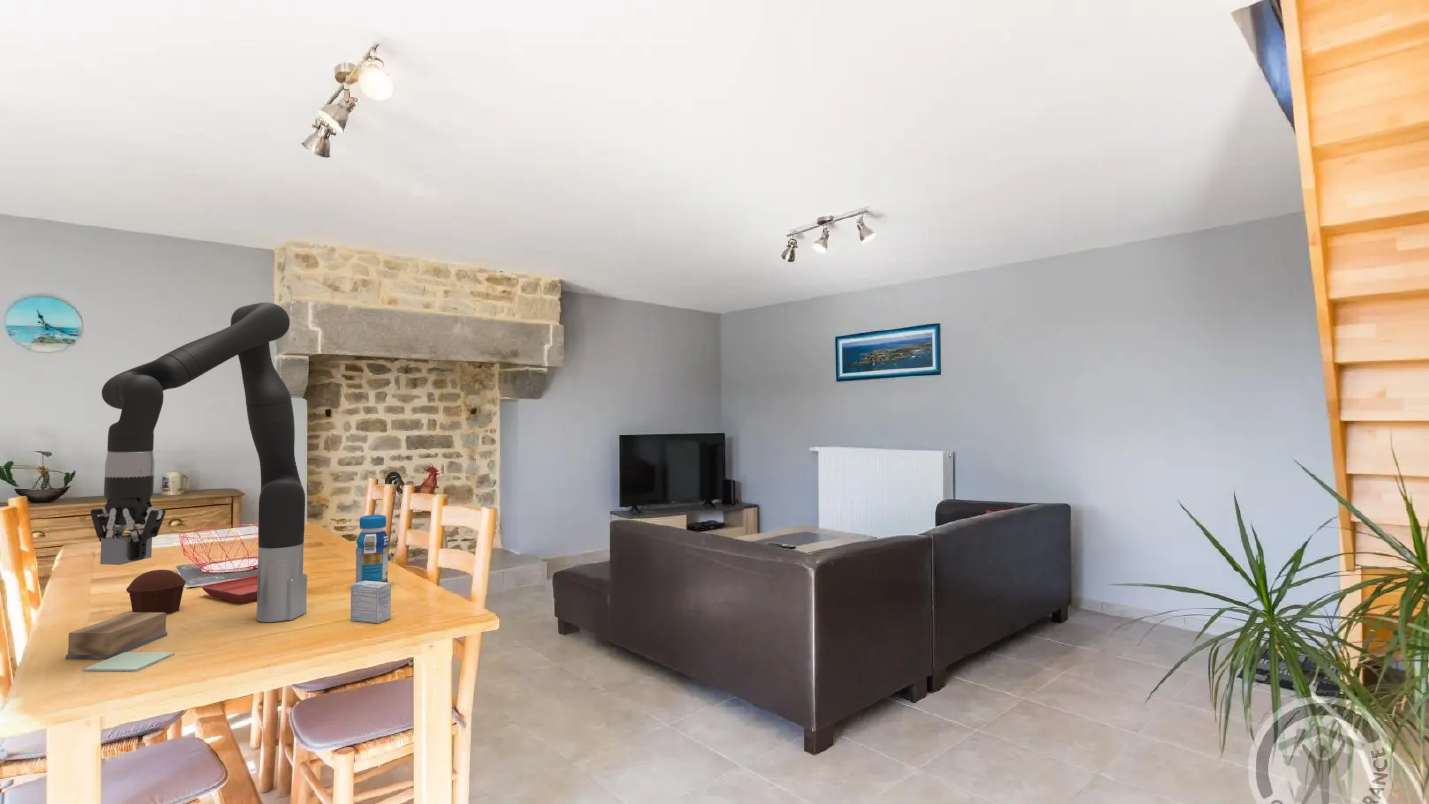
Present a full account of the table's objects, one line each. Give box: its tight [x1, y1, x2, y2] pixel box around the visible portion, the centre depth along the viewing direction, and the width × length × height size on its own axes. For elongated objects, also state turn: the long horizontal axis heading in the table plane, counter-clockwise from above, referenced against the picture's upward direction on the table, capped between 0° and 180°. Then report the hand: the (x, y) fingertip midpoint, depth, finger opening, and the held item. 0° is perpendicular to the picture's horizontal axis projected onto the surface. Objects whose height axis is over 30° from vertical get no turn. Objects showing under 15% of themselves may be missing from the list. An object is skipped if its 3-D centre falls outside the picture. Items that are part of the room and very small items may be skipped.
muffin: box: [125, 569, 187, 616], centre depth 164 cm, size 12×11×10 cm
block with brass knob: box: [99, 531, 153, 566], centre depth 135 cm, size 4×7×6 cm, turn 178°
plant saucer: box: [200, 574, 309, 604], centre depth 182 cm, size 18×18×3 cm
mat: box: [82, 651, 175, 672], centre depth 131 cm, size 10×9×1 cm
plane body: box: [65, 611, 168, 660], centre depth 140 cm, size 8×14×5 cm, turn 0°
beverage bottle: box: [355, 514, 390, 583], centre depth 190 cm, size 8×8×20 cm
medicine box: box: [350, 581, 392, 624], centre depth 160 cm, size 8×4×9 cm, turn 74°
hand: (126, 559), depth 135 cm, fingers closed on block with brass knob, 4 cm apart
